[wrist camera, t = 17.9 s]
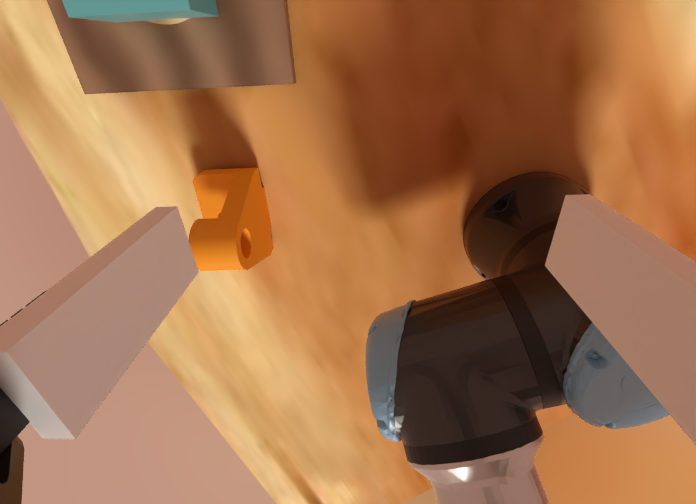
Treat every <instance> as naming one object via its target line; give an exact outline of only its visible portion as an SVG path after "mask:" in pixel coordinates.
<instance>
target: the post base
mask: <svg viewBox="0 0 696 504" xmlns="http://www.w3.org/2000/svg"><path fill="white" fill-rule="evenodd" d="M47 2H48V4H49V7H50V9H51V12H52V14H53V17H54V19H55V22H56V24H57V27H58V29H59V32H60V34H61V36H62V39H63V41H64V44H65V46H66V49H67V51H68V54H69V56H70V59H71V61H72V64H73V66H74V69H75V71H76V74H77V76H78V79H79V81H80V84H81V86H82V88H83V91H84V93H85V94H97V93H118V92H138V91H158V90H178V89H199V88H219V87H239V86H259V85H280V84H294V83H296V78H295V69H294V60H293V51H292V42H291V33H290V24H289V15H288V6H287V0H216V5H217V10H218V15H219V16H216V17H199V18H183V19H166V20H149V21H132V22H108V21H98V20H89V19H80V18H71V17H68V15H67V12H66V9H65V7H64V4H63V1H62V0H47Z"/></svg>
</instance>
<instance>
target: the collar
mask: <svg viewBox="0 0 696 504" xmlns="http://www.w3.org/2000/svg"><path fill="white" fill-rule="evenodd" d="M62 1H63V4H64V7H65V9H66V12H67V15H68V17H71V18H80V19H89V20H98V21H108V22H132V21H149V20H166V19H183V18H199V17H216V16H219V15H218V10H217V5H216V0H62Z"/></svg>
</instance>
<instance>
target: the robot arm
mask: <svg viewBox="0 0 696 504" xmlns="http://www.w3.org/2000/svg"><path fill="white" fill-rule="evenodd" d="M464 247H465V251H466V254H467V256H468V258H469V260H470V262H471V264H472V265H473V267H474V268H475V270H476V271H477V272H478V273H479V274H480V275H481V276H482V277H483V278H484V279H486V280H485V281H482V282H479V283H475V284H472V285H469V286H466V287H463V288H460V289H457V290H453V291H450V292H446V293H443V294H440V295H436V296H433V297H430V298H426V299H423V300H419V301H415V300H412V301H409V302H408V303H407V304H406V305H403V306H400V307H398V308H395V309H392V310H389V311H387V312H384V313H382V314H380V315H379V316H377V317H376V318H375V320H374V321H373V323H372V324H371V327H370V329H369V333H368V338H367V343H366V376H367V386H368V393H369V398H370V404H371V408H372V412H373V415H374V417H375V419H377V426H378V429H379V431H380V433H381V434H382V435H383V436H384V437H385V438H386V439H388V440H393V441H394V442H398V441H401V440H402V442H403V445H404V448H405V452H406V456H407V460H408V463H409V465H410V466H411V467H412V468H414V469H415V470H416V471H418V472H419V473H421V474H422V475H423V476H425V477H426V478H427V479H429V481H430V482H431V483H432V486H433V489H434V494H435V497H436V501H437V504H549V501H548V498H547V496H546V493H545V490H544V488H543V485H542V482H541V480H540V477H539V475H538V472H537V470H536V467H535V464H534V462H535V456H536V454H537V452H538V450H539V448H540V446H541V444H542V442H543V440H544V434H543V431H542V429H541V427H540V424H539V422H538V419H537V417H536V413H535V412H536V411H537V410H541V409H544V408H549V407H554V406H559V405H565V404H567V405H568V407H569V408H570V409H571V410H572V412H573V413H575V414H577V415H578V416H579V417H580V418H581V419H583V420H584V421H585V422H587V423H589V424H591V425H594V426H598V427H601V426H603V425H604V426H605V427H608V428H614V429H619V428H629V427H635V426H640V425H643V424H647V423H650V422H653V421H656V420H658V419H661V418H663V417H666V416H668V415H671V416H672V417H673V419H674V420H675V421H676V422H677V423H678V425H679V426H680V427H681V428H682V429H683V431H684V432H685V433H686V434H687V435H688V436H689V438H690V439H691V440H692V441H693V442H694V444H695V445H696V262H695V261H693V260H692V259H690V258H689V257H687V256H686V255H684V254H682V253H681V252H679V251H678V250H676V249H675V248H673V247H671V246H670V245H668V244H667V243H665V242H664V241H662V240H661V239H659V238H657V237H656V236H654V235H653V234H651V233H650V232H648V231H646V230H645V229H643V228H642V227H640V226H639V225H637V224H635V223H634V222H632V221H631V220H629V219H628V218H626V217H625V216H623V215H621V214H620V213H618V212H617V211H615V210H614V209H612V208H610V207H609V206H607V205H606V204H604V203H603V202H601V201H600V200H598V199H596V198H595V197H593V196H592V195H590V194H589V193H588V192H587V191H586V190H585V189H584V188H583V187H581V186H580V185H578V184H577V183H575V182H573V181H572V180H570V179H568V178H567V177H564V176H562V175H559V174H555V173H548V172H534V173H527V174H523V175H519V176H516V177H513V178H511V179H508V180H506V181H504V182H502V183H501V184H499V185H497V186H496V187H494V188H493V189H492V190H490V191H489V192H488V193H487V194H486V195H484V196H483V197H482V198H481V199H480V201H479V202H478V203H477V204H476V206H475V207H474V208H473V210H472V211H471V213H470V215H469V217H468V219H467V222H466V225H465V229H464ZM198 272H199V271H198V268H197V265H196V262H195V259H194V256H193V253H192V250H191V247H190V244H189V241H188V238H187V235H186V232H185V229H184V226H183V222H182V219H181V216H180V213H179V210H178V207H156V208H154V209H153V210H152V211H150V212H149V213H148V214H147V215H145V216H144V217H143V218H141V219H140V220H139V221H137V222H136V223H135V224H133V225H132V226H131V227H130V228H128V229H127V230H126V231H124V232H123V233H122V234H120V235H119V236H118V237H116V238H115V239H114V240H113V241H111V242H110V243H109V244H107V245H106V246H105V247H103V248H102V249H101V250H99V251H98V252H97V253H96V254H94V255H93V256H92V257H90V258H89V259H88V260H86V261H85V262H84V263H83V264H81V265H80V266H79V267H77V268H76V269H75V270H74V271H72V272H71V273H70V274H68V275H67V276H66V277H64V278H63V279H62V280H60V281H59V282H58V283H57V284H55V285H54V286H53V287H51V288H50V289H49V290H47V291H45V292H43V293H42V294H40V295H39V296H38V297H37V298H35V299H34V300H33V301H32V302H30V303H29V304H27V305H26V307H25V308H24V309H21V310H19V311H18V312H17V313H15V314H14V315H13V316H12V317H11V319H9V320H6V321H5V322H4V323H2V324H1V325H0V504H21V499H22V480H23V462H24V446H23V443H22V441H21V440H20V439H19V438H18V437H17V435H18V434H19V433H20V432H21V431H22V430H23V429H24V428H25V427H26V425H27V424H28V423H30V424H31V426H32V427H33V428H34V429H35V430H36V431H37V432H38V434H39V435H40V436H41V437H42V438H43V439H76V438H77V437H78V435H79V434H80V433H81V431H82V430H83V428H84V427H85V426H86V424H87V423H88V422H89V420H90V419H91V418H92V416H93V415H94V413H95V412H96V411H97V409H98V408H99V407H100V405H101V404H102V402H103V401H104V400H105V399H106V397H107V396H108V394H109V393H110V392H111V390H112V389H113V388H114V386H115V385H116V383H117V382H118V381H119V379H120V378H121V377H122V375H123V374H124V373H125V371H126V370H127V369H128V367H129V366H130V365H131V363H132V362H133V361H134V359H135V358H136V356H137V355H138V354H139V352H140V351H141V349H142V348H143V347H144V346H145V344H146V343H147V341H148V340H149V339H150V337H151V336H152V335H153V333H154V332H155V331H156V329H157V328H158V327H159V325H160V324H161V322H162V321H163V320H164V318H165V317H166V316H167V314H168V313H169V312H170V310H171V309H172V307H173V306H174V305H175V303H176V302H177V301H178V299H179V298H180V297H181V295H182V294H183V293H184V291H185V290H186V288H187V287H188V286H189V284H190V283H191V282H192V280H193V279H194V278H195V276H196V275H197V274H198Z"/></svg>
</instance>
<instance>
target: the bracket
mask: <svg viewBox="0 0 696 504" xmlns="http://www.w3.org/2000/svg"><path fill="white" fill-rule="evenodd" d="M193 184H194V188H195V191H196V194H197V198H198V201H199V204H200V208H201V211H202V214H203V218H204V219H198V220H196V221H195V222H194V223H193V225H192V227H191V230H190V234H189V244H190V247H191V250H192V253H193V256H194V259H195V262H196V265H197V268H198V270H201V271H212V270H247V269H249V268H251V267H252V266H254V265H255V264H257V263H258V262H260V261H261V260H263V259H265V258H266V257H268V256H269V255H270V254H271V252H272V250H273V242H272V237H271V232H270V229H271V222H270V217H269V211H268V206H267V201H266V196H265V190H264V186H263V187H262V185H261V180H260V175H259V170H258V168H235V169H213V170H203V171H202V172H200V173H199V174H198V175H197V176H195V177H194V179H193Z"/></svg>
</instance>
